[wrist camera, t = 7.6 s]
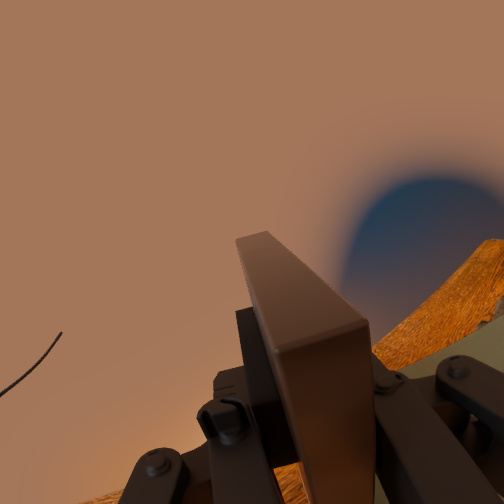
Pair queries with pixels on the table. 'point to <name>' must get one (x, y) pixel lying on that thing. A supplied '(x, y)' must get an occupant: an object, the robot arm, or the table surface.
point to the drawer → (316, 370)
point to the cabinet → (474, 345)
